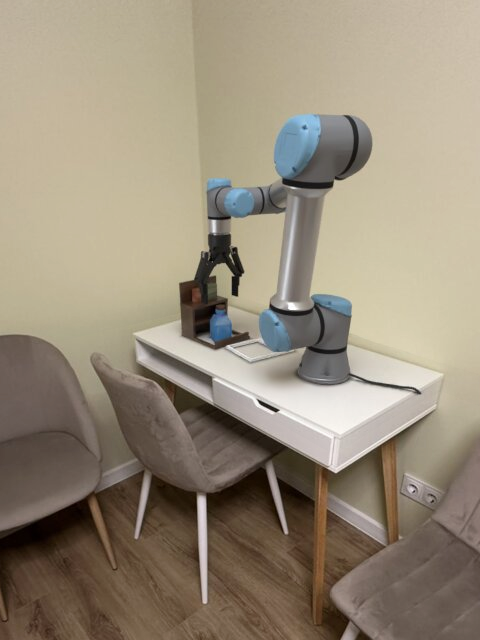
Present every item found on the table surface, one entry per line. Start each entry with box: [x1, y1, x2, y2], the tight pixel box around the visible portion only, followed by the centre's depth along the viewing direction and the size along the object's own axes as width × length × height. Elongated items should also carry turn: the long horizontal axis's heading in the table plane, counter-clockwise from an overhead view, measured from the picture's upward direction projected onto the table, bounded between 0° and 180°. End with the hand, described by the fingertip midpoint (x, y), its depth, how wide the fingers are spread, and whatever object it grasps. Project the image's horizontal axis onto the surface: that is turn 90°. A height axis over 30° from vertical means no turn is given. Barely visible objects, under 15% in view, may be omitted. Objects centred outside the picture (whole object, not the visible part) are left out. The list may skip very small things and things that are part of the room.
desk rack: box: [178, 275, 251, 350], centre depth 166 cm, size 19×16×19 cm
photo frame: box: [225, 337, 296, 363], centre depth 159 cm, size 15×1×18 cm
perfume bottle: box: [209, 305, 233, 342], centre depth 166 cm, size 6×6×12 cm
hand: (220, 299), depth 162 cm, fingers open, 13 cm apart
